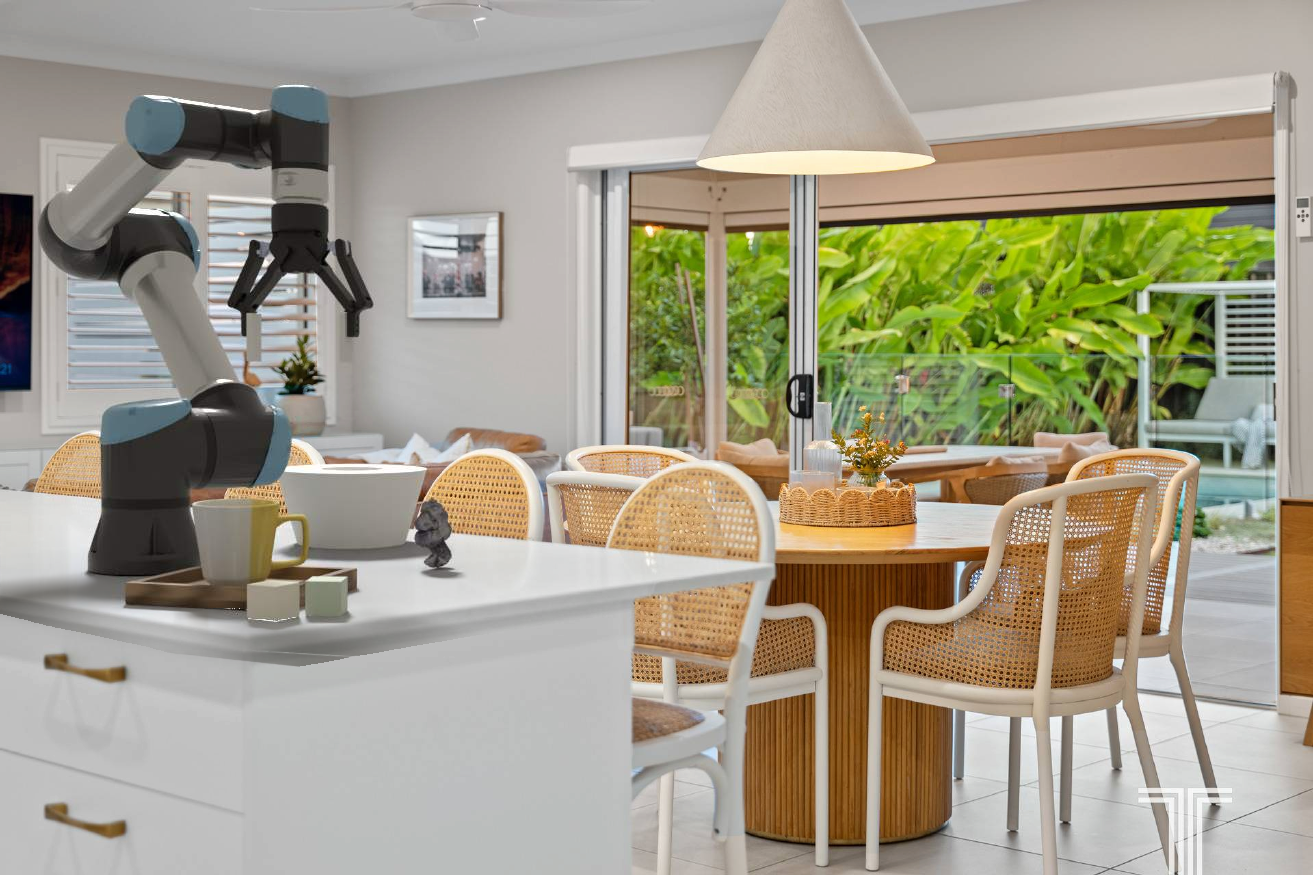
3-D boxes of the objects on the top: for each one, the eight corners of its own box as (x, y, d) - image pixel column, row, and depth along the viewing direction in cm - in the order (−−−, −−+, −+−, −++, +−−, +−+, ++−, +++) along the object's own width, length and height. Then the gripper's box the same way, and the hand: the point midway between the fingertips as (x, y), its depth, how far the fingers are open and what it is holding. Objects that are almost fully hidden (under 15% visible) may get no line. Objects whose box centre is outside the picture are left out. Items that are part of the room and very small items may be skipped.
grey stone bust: (445, 570, 201) (445, 499, 200) (408, 569, 202) (408, 498, 202) (457, 566, 206) (458, 496, 206) (422, 564, 207) (422, 495, 207)
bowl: (415, 552, 222) (415, 474, 221) (258, 550, 222) (258, 472, 221) (436, 535, 246) (436, 464, 245) (294, 533, 246) (294, 463, 245)
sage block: (305, 616, 162) (305, 581, 162) (312, 610, 166) (312, 576, 166) (341, 616, 162) (341, 581, 162) (347, 611, 166) (347, 576, 166)
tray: (125, 603, 169) (125, 582, 169) (214, 580, 188) (214, 561, 188) (282, 612, 165) (282, 590, 164) (356, 587, 184) (357, 568, 184)
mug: (184, 593, 171) (184, 505, 170) (200, 581, 181) (200, 498, 180) (302, 592, 172) (303, 505, 172) (312, 580, 183) (312, 498, 182)
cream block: (246, 620, 159) (246, 584, 159) (270, 615, 163) (270, 579, 163) (276, 623, 158) (276, 586, 158) (299, 617, 161) (299, 582, 161)
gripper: (201, 202, 194) (201, 360, 195) (374, 199, 188) (374, 362, 189) (230, 208, 201) (230, 361, 202) (397, 206, 195) (397, 363, 196)
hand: (299, 362), depth 195 cm, fingers open, 13 cm apart
